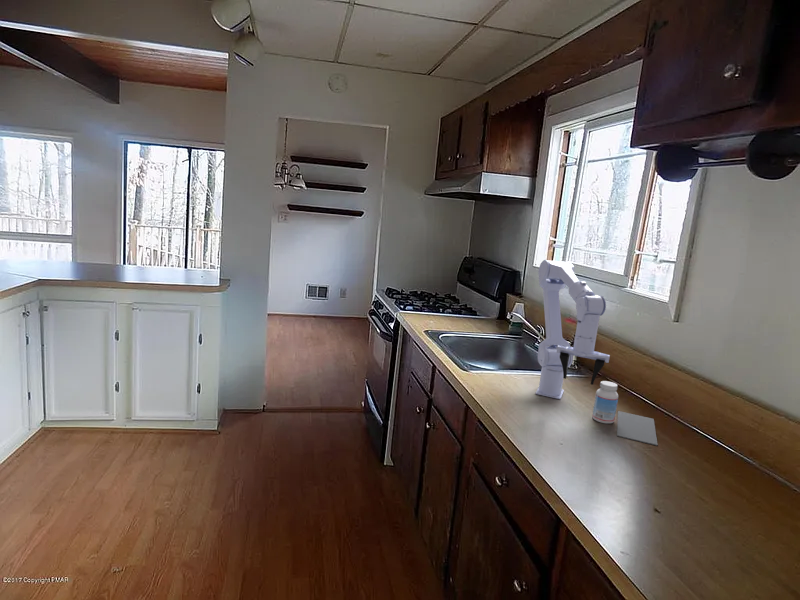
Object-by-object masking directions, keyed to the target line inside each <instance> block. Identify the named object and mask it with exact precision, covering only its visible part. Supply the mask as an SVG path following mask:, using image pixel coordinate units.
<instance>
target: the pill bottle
mask: <svg viewBox="0 0 800 600" xmlns="http://www.w3.org/2000/svg"><path fill="white" fill-rule="evenodd" d="M599 387H600V388H598V389H597V390H596V391H595V397H594V403H593V409H592V415H591V416H592V419H593V420H594V421H596V422H599V423H601V424H613V423H615V420H616V419H615V418H616V412H617V407H618V402H619V394H618V392H617V390H618V384H617V383H615V382H612V381H608V380H602V381H600V383H599Z"/></svg>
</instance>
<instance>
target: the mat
mask: <svg viewBox="0 0 800 600" xmlns="http://www.w3.org/2000/svg"><path fill="white" fill-rule="evenodd" d="M655 424H656V423H655V420H654V418H651V417H646V416H643V415H638V414H634V413H633V414H632V413H630V412H625V411H621V410H618V411H617V423H616V427H617V428H616V437H618V438H619V437H620V438H624V439H628V440H631V441H635V442H639V443H640V442H641V443H644V444H648V445H653V446H657V447H658V445H659V444H658V439H657V434H656V433H657V432H656V425H655Z"/></svg>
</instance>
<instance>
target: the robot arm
mask: <svg viewBox="0 0 800 600" xmlns="http://www.w3.org/2000/svg"><path fill="white" fill-rule="evenodd" d="M537 271H538V272H537V275H538V282H539V287H540V288H541V289H542V295H543V309H544V311H543V312H544V323H545V339H543V340H542V341H540V343H539V344H538V351H537V352H538V353H537V362H538V364H539V365H540V366H541V371H540V377H539V383H538V385H539V386H538V387H537V389H536V391H535V394H536V395H539V396H543V397H548V398H551V399H552V398H553V399H557V400H561V399H562V397H563V393H564V391H565V389H563V385H564V380H566V379H567V376H568V368H570V367H571V365H572V363H573V361H574V360H573V359H574V356H575V357H580V358H584V359H589V360H590V359H591V360H593V361H594V365H593V366H594V367H593V372H592V377H591V380H590V385H591V386H593V385H594V382H595V380H596V378H597V376H598V374H599V372H600V371H601V370H602V368H603V367H604V366H605V363H609V362H610V356H611V355H610V354H607V353H603V352H599V351H595V347H596V346H595V345H596V341H597V335H598V330H599V329H598V328H599V322H600V318H601V316H603V315H604V314H605V312H606V309H607V303H606V299H605V298H604V296H603V295H599V294H595V292H594V291H593V290H592V289H591V288H590V287H589V286H588V284H587V282H586V280H585V281H583V280H579V279H578V277H577V276H576V274H575V266H574V264H573V263H572V262H571V261H559V260H547V259H544V260H542V261H541V262H540V264H539V266H538V270H537ZM565 287H567V288H568V294H569V296H570V297H571V299H572V300H573V301H574V303H575V309H576V314H575V315H576V316H575V317H576V320H577V323H576V328H575V329H576V330H575V335H574V342H573V346H571V344H570V343H569V341H567V340H566V339H565V338H563V330H562V329H563V328H562V317H561V304H560V291H561V290H563V289H565Z"/></svg>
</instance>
